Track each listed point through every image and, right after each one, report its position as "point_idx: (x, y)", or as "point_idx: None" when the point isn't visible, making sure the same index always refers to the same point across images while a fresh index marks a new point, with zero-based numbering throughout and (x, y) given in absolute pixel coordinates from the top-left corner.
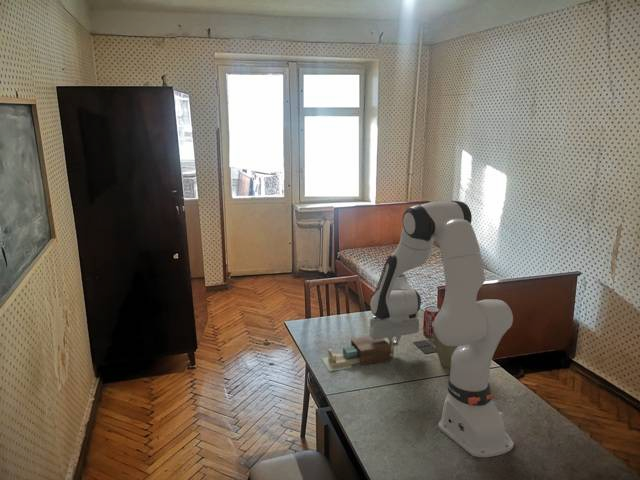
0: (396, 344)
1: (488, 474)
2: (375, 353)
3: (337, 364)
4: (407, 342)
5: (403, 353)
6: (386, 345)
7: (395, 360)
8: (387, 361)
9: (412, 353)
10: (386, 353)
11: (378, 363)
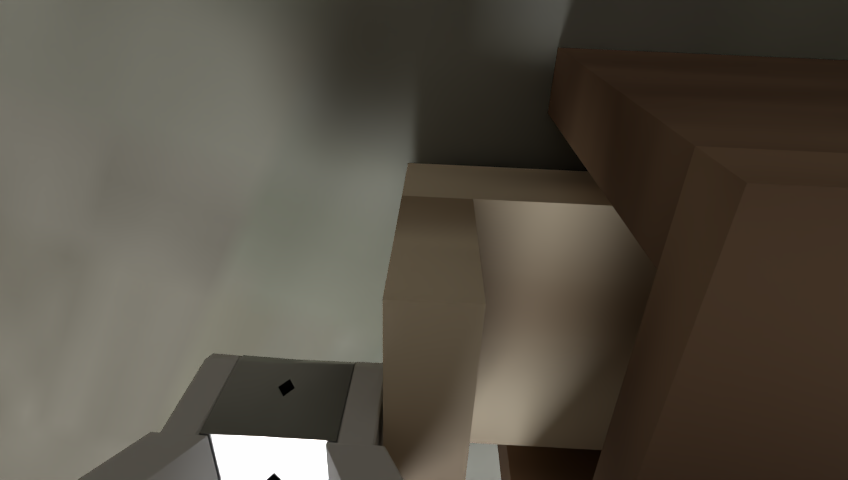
0: (243, 378)
1: None
2: None
3: None
4: (30, 447)
5: (171, 223)
6: (845, 311)
7: (422, 45)
8: (615, 51)
9: (3, 168)
10: (746, 100)
11: (820, 60)
